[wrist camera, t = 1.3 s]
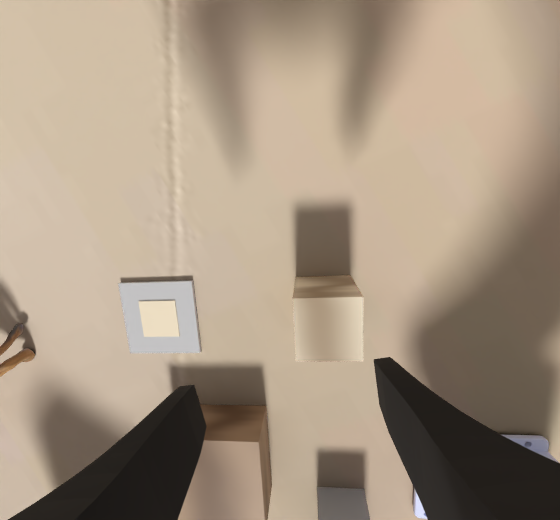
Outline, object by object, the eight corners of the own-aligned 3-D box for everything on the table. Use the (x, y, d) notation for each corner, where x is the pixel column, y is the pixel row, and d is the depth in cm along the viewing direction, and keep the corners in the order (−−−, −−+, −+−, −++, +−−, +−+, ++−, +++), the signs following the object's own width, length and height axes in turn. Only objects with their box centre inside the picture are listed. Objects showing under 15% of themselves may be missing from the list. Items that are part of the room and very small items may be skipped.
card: (193, 280, 22) (190, 281, 22) (201, 351, 23) (199, 353, 23) (120, 282, 23) (117, 283, 22) (132, 351, 24) (129, 353, 23)
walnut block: (266, 403, 24) (258, 442, 20) (272, 482, 25) (265, 532, 22) (176, 401, 25) (151, 438, 21) (186, 478, 26) (165, 525, 22)
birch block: (350, 275, 21) (363, 296, 16) (350, 325, 22) (363, 361, 17) (295, 276, 21) (292, 298, 16) (298, 326, 22) (295, 361, 17)
